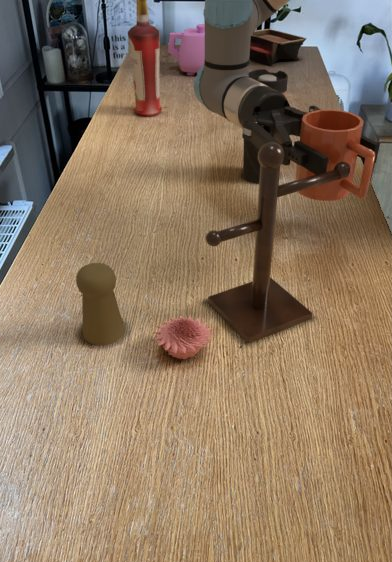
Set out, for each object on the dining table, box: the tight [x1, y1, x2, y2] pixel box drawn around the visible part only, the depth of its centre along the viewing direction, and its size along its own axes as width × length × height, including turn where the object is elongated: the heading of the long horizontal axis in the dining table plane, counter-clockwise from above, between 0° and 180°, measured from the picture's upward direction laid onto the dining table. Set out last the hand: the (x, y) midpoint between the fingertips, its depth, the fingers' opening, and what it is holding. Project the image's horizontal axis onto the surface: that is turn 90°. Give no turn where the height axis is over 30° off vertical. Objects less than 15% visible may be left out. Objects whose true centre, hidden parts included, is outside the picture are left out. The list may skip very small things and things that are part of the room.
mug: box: [294, 108, 375, 202], centre depth 82 cm, size 13×8×10 cm, turn 29°
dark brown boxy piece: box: [249, 28, 307, 66], centre depth 180 cm, size 14×18×10 cm
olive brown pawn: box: [75, 262, 125, 346], centre depth 80 cm, size 6×6×11 cm
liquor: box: [127, 0, 163, 117], centre depth 139 cm, size 7×7×28 cm
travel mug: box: [242, 68, 289, 185], centre depth 114 cm, size 8×8×20 cm
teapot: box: [167, 23, 205, 76], centre depth 170 cm, size 20×12×13 cm, turn 86°
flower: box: [152, 314, 214, 360], centre depth 78 cm, size 8×8×6 cm
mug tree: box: [205, 142, 351, 344], centre depth 79 cm, size 22×11×26 cm, turn 120°
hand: (350, 160), depth 80 cm, fingers closed on mug, 8 cm apart
